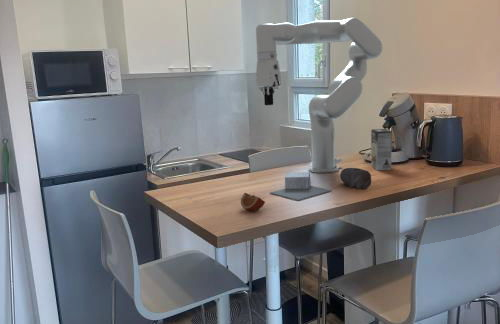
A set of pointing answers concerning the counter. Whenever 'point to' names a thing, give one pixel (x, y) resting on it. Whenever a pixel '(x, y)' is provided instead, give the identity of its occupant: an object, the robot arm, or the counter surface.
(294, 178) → the medicine box
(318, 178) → the counter surface
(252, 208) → the fruit slice
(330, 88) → the robot arm
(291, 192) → the mat
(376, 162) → the coffee box
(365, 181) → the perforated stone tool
